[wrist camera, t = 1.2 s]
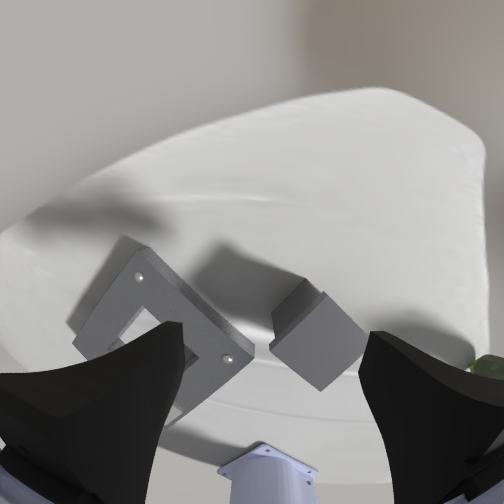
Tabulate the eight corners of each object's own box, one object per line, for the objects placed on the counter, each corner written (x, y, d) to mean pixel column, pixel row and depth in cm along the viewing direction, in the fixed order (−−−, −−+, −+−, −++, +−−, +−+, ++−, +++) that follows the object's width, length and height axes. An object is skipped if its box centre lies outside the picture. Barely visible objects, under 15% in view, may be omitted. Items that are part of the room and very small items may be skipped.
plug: (342, 309, 22) (374, 342, 15) (304, 347, 22) (320, 391, 15) (306, 273, 22) (327, 295, 15) (266, 313, 22) (269, 351, 15)
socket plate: (254, 344, 22) (254, 361, 19) (173, 414, 23) (165, 432, 20) (149, 247, 22) (134, 250, 19) (85, 334, 23) (69, 345, 20)
